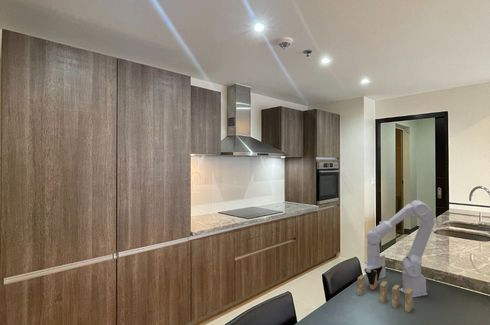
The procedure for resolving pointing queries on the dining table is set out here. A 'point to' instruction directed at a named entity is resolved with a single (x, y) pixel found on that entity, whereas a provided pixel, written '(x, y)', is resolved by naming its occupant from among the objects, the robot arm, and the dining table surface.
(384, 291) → the domino
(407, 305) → the domino
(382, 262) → the skincare box
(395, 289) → the domino
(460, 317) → the dining table surface
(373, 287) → the domino
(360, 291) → the domino
